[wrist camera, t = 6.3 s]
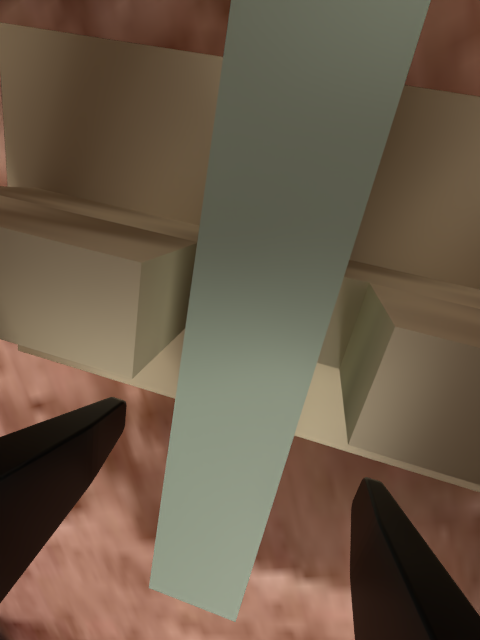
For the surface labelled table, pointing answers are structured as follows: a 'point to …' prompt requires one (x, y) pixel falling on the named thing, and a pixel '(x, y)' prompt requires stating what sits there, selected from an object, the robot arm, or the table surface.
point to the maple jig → (182, 235)
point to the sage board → (270, 266)
